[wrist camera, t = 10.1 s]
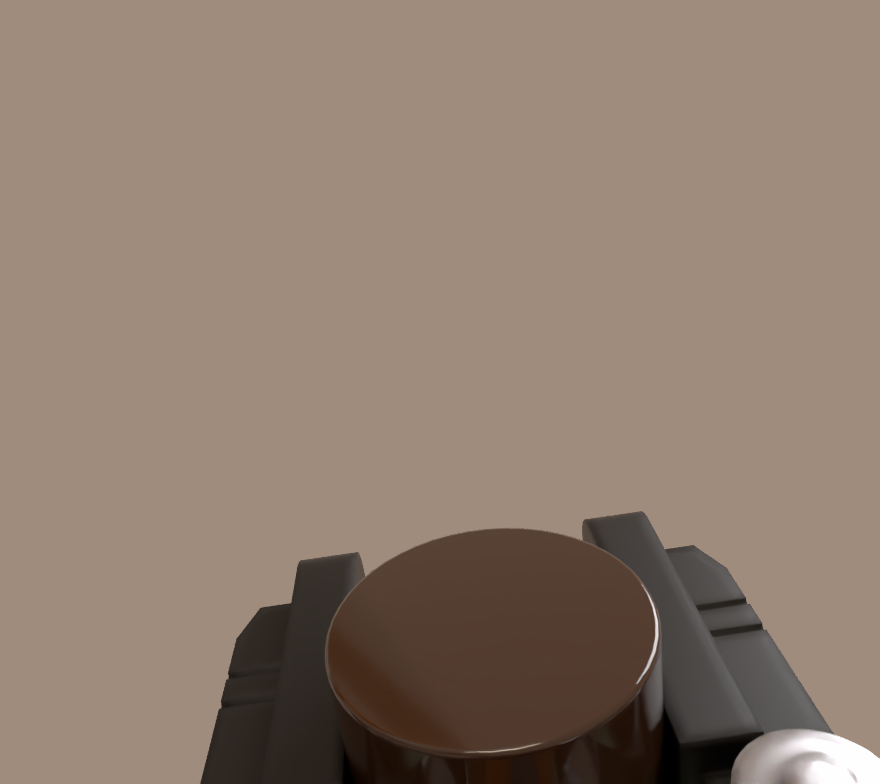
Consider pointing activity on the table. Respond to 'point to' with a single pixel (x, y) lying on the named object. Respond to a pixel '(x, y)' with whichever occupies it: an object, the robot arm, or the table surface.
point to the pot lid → (499, 665)
